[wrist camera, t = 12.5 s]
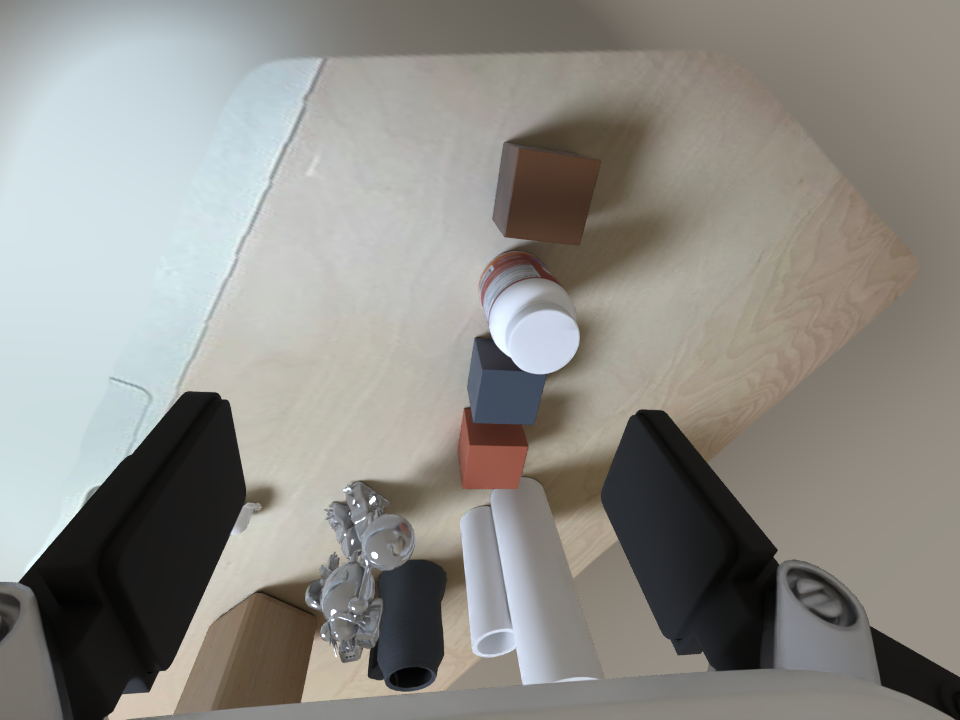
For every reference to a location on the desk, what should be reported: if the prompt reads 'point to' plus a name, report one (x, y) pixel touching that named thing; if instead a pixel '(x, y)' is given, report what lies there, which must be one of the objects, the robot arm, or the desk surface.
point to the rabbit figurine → (245, 517)
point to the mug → (409, 626)
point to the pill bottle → (528, 312)
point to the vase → (525, 589)
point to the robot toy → (358, 570)
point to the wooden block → (251, 658)
